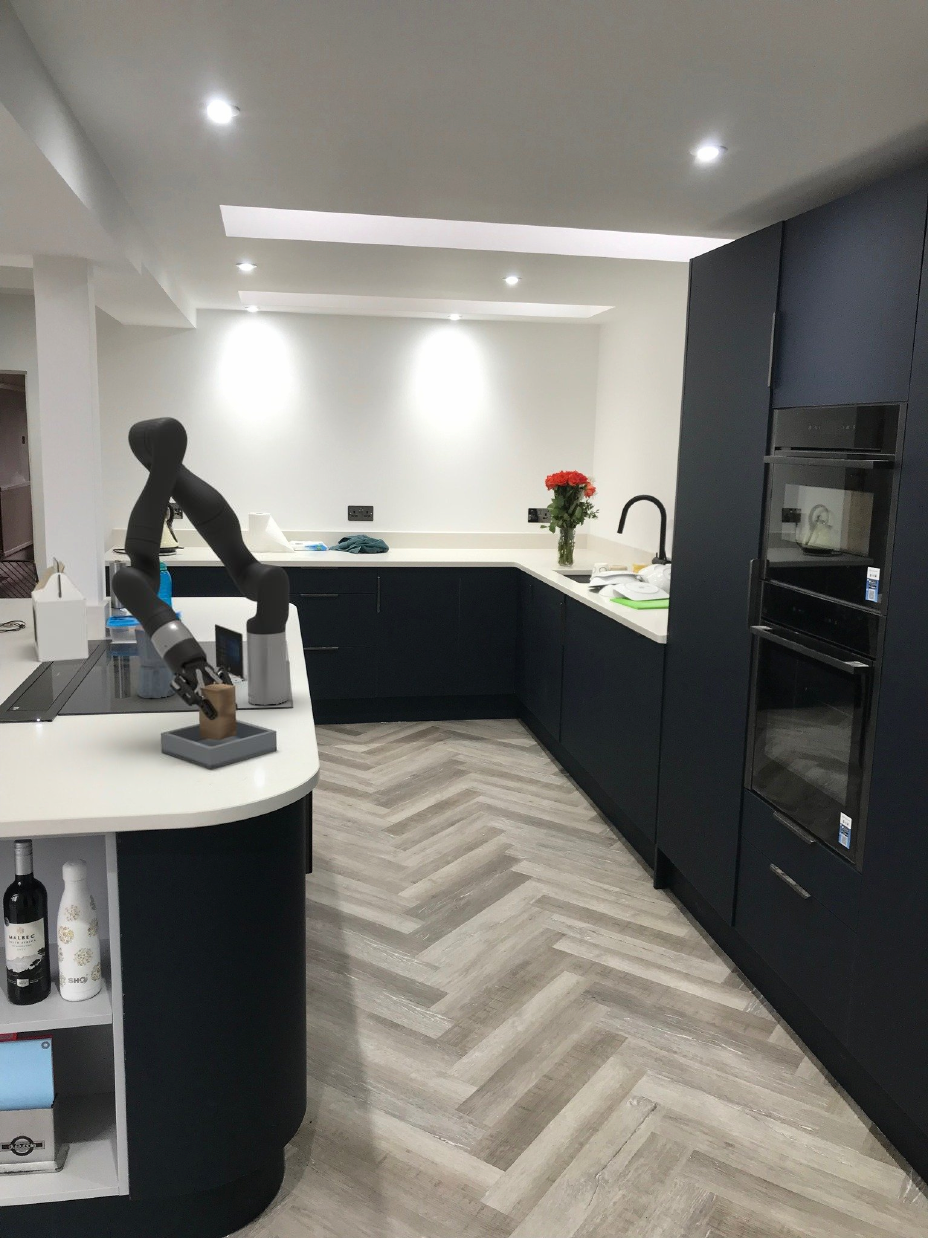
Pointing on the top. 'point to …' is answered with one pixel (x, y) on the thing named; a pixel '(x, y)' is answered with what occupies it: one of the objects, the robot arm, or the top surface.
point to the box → (218, 745)
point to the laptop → (229, 650)
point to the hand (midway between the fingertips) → (224, 714)
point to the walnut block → (219, 712)
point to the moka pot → (151, 669)
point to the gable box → (59, 617)
